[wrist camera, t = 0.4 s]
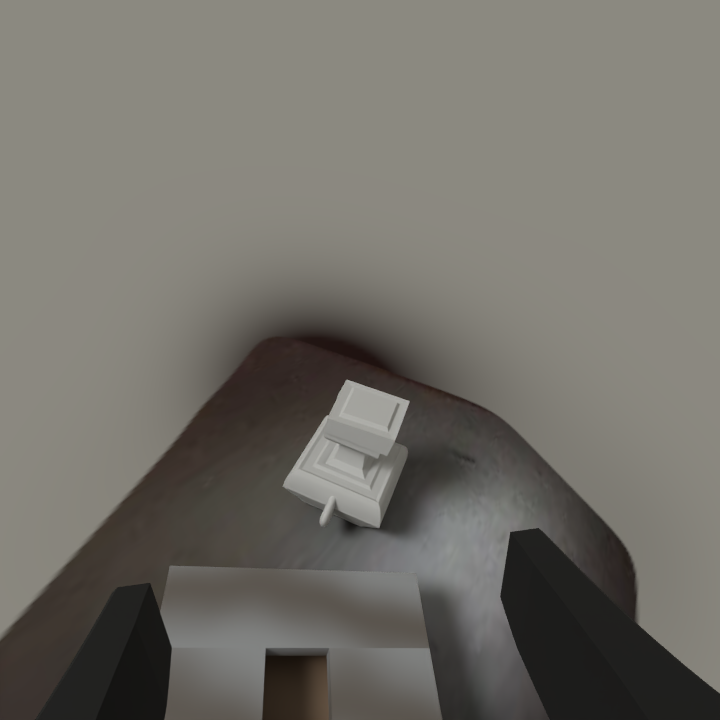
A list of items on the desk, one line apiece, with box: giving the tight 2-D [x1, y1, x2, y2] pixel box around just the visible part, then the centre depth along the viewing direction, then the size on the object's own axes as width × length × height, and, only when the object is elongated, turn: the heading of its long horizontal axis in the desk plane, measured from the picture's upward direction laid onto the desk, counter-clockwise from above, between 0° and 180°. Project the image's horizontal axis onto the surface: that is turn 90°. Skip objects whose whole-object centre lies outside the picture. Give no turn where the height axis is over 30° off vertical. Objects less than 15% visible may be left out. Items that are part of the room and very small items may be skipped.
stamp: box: [283, 380, 410, 528], centre depth 35 cm, size 9×7×8 cm
